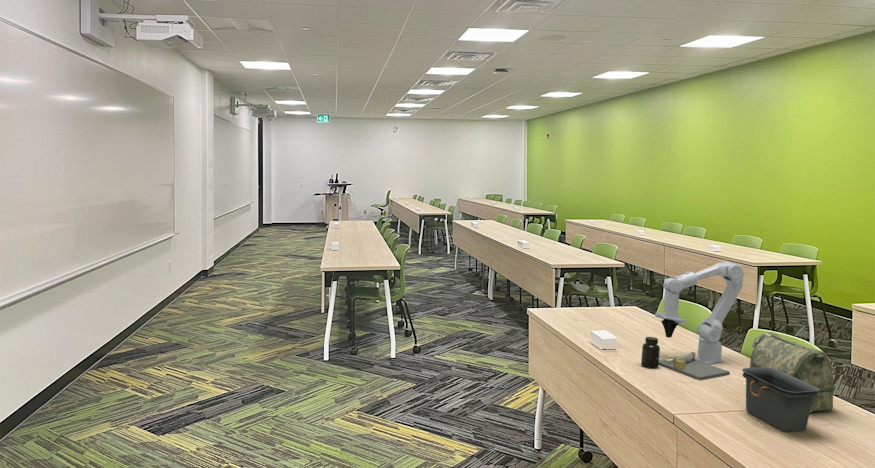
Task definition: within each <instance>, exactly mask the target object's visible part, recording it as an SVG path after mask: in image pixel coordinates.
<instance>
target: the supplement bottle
mask: <svg viewBox="0 0 875 468" xmlns="http://www.w3.org/2000/svg"><path fill="white" fill-rule="evenodd" d="M644 341H645V343H643V344H642V350H641V360H640V362H641V363H640V364H641V366H642V367H644V368H646V369H658V368H659V366H660V365H659V360H660V351H661V347H660V345H658V344H659V339H658V338H657V337H655V336H654V337H653V336H646V337H645V340H644Z"/></svg>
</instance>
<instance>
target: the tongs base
mask: <svg viewBox="0 0 875 468" xmlns="http://www.w3.org/2000/svg"><path fill="white" fill-rule="evenodd" d="M690 354H693V358H692V359H689V360H686V361H685V362H686V363H685V369H681V370H679V369H676V368H674V363H673V358H676V357H677V356H676V357H675V356H674V357H668V358H663V359H659V366H660V367H663V368H665V369H669V370H670V371H673V372H677V373H679V374H682V375H684V376H686V377H690V378H692V379H695V380H697V381H703V380H708V379H714V378H719V377H723V376H728V375H729V376H730V375H731V371H729V370H726V369H723V368H721V367H717V366H714V365H711V364H707V363H704V362H701V361H698V360H695V357H696V352H694V351H691V352H690Z"/></svg>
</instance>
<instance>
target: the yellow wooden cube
mask: <svg viewBox="0 0 875 468" xmlns="http://www.w3.org/2000/svg"><path fill="white" fill-rule="evenodd" d="M685 363H686V362H685V361H682V360H674V368H676V369H679V370H681V369H685Z"/></svg>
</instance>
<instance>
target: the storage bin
mask: <svg viewBox="0 0 875 468" xmlns="http://www.w3.org/2000/svg"><path fill="white" fill-rule="evenodd" d="M741 371H742V372H743V373H742V377H743V378H744V379H745V389H746V390H745V399H746V400H745V410H746V412H748V413H750V414H751V415H753V416H756V417H757V418H759V419H761V420H762V421H764V422H765V423H767V424H770V425H771V426H773V427H774V428H776V427H777V428H776V429H778V430H780V431H783V432H785V431H790V432H798V430H803V431H806V430H807V427H808V422H809V417H810V413H811V412H810V409H811V404H812V400H813V397H817V396H818V394H817V391H819V390H820V389H819V388H817V387H815V386H812V385H810V384H808V383H806V382H804V381H801V380H799V379H797V378H795V377H792V376H790V375H788V374H786V373H783V372H781V371H779V370H776V369H773V368H767V367H758V368H750V367H744V368H742V369H741Z"/></svg>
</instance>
